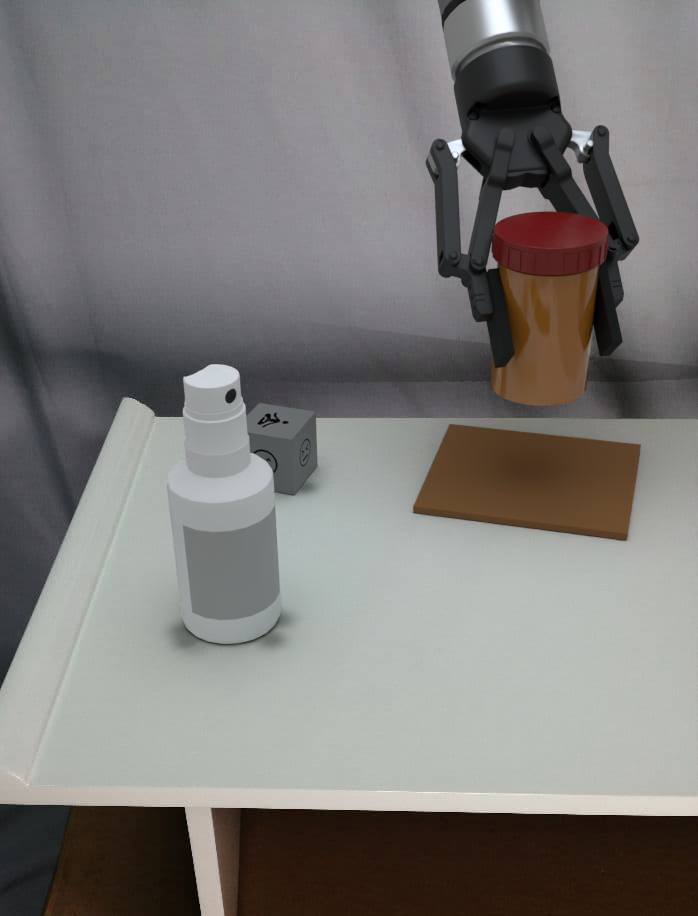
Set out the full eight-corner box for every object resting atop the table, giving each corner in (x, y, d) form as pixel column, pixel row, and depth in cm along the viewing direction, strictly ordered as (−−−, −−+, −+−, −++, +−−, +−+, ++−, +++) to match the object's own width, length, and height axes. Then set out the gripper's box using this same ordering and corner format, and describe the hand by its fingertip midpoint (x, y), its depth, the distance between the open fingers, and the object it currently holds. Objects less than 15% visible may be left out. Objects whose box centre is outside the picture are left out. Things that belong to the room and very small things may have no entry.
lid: (611, 240, 86) (614, 214, 85) (600, 279, 79) (603, 252, 78) (501, 233, 88) (502, 208, 87) (482, 270, 82) (483, 244, 81)
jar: (591, 369, 91) (607, 222, 85) (580, 410, 86) (597, 256, 79) (498, 360, 93) (507, 216, 87) (482, 400, 87) (490, 249, 81)
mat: (640, 450, 97) (641, 444, 97) (626, 540, 86) (627, 533, 86) (449, 429, 102) (449, 423, 101) (413, 512, 91) (413, 506, 90)
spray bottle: (230, 659, 76) (208, 412, 67) (161, 618, 81) (131, 379, 71) (302, 612, 80) (291, 371, 71) (233, 575, 85) (214, 343, 75)
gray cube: (262, 456, 99) (259, 402, 96) (317, 465, 97) (315, 411, 95) (237, 484, 95) (233, 430, 93) (294, 495, 94) (291, 439, 91)
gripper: (611, 89, 94) (670, 359, 89) (363, 109, 91) (411, 387, 87) (647, 29, 86) (713, 320, 82) (379, 50, 84) (432, 350, 79)
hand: (558, 354), depth 84 cm, fingers closed on jar, 7 cm apart
